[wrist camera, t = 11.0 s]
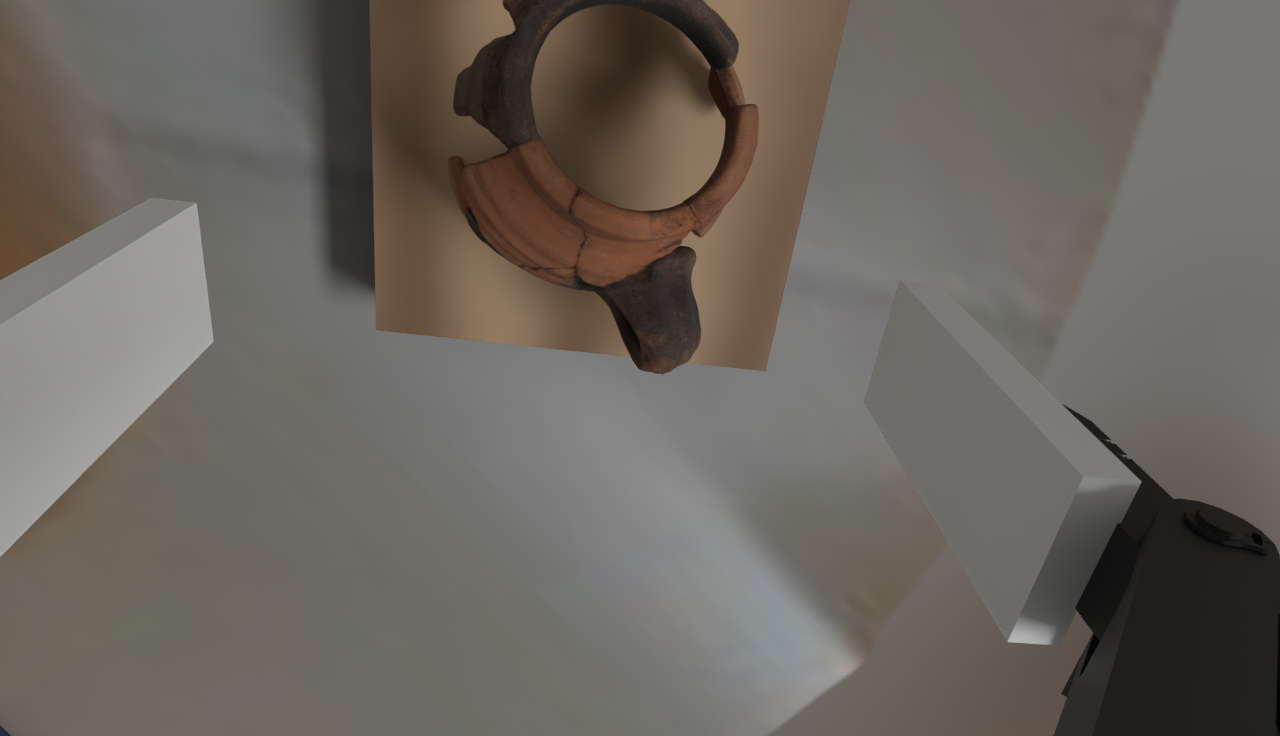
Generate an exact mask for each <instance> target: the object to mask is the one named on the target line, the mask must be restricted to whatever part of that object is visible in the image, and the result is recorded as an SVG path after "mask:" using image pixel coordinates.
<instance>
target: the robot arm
mask: <svg viewBox="0 0 1280 736" xmlns="http://www.w3.org/2000/svg"><path fill="white" fill-rule="evenodd" d="M212 342H213V333H212V325H211V317H210V309H209V300H208V292H207V284H206V276H205V268H204V260H203V251H202V243H201V235H200V227H199V219H198V211H197V203H195V202H186V201H177V200H167V199H158V198H150V199H148V200H146V201H145V202H143V203H141V204H139V205H137V206H135V207H134V208H132V209H130V210H128V211H126V212H124V213H123V214H121V215H119V216H117V217H115V218H113V219H112V220H110V221H108V222H106V223H104V224H102V225H101V226H99V227H97V228H95V229H93V230H91V231H90V232H88V233H86V234H84V235H82V236H81V237H79V238H77V239H75V240H73V241H71V242H70V243H68V244H66V245H64V246H62V247H60V248H59V249H57V250H55V251H53V252H51V253H49V254H48V255H46V256H44V257H42V258H40V259H38V260H37V261H35V262H33V263H31V264H29V265H27V266H26V267H24V268H22V269H20V270H18V271H17V272H15V273H13V274H11V275H9V276H7V277H6V278H4V279H2V280H0V557H1V556H2V555H3V554H4V553H5V552H6V551H7V550H8V549H9V547H10V546H11V545H12V544H13V543H14V542H15V541H16V540H17V539H18V538H19V537H20V536H21V535H22V534H23V533H24V532H25V531H26V530H27V529H28V528H29V527H30V526H31V525H32V524H33V523H34V522H35V521H36V520H37V519H38V518H39V517H40V516H41V515H42V514H43V513H44V512H45V511H46V510H47V509H48V508H49V507H50V506H51V505H52V504H53V503H54V502H55V501H56V500H57V499H58V498H59V497H60V496H61V495H62V494H63V493H64V492H65V491H66V490H67V489H68V488H69V487H70V486H71V485H72V484H73V483H74V482H75V481H76V480H77V479H78V478H79V477H80V476H81V475H82V474H83V473H84V472H85V471H86V470H87V469H88V468H89V467H90V466H91V465H92V464H93V463H94V462H95V461H96V460H97V459H98V458H99V457H100V456H101V455H102V454H103V453H104V452H105V451H106V450H107V448H108V447H109V446H110V445H111V444H112V443H113V442H114V441H115V440H116V439H117V438H118V437H119V436H120V435H121V434H122V433H123V432H124V431H125V430H126V429H127V428H128V427H129V426H130V425H131V424H132V423H133V422H134V421H135V420H136V419H137V418H138V417H139V416H140V415H141V414H142V413H143V412H144V411H145V410H146V409H147V408H148V407H149V406H150V405H151V404H152V403H153V402H154V401H155V400H156V399H157V398H158V397H159V396H160V395H161V394H162V393H163V392H164V391H165V390H166V389H167V388H168V387H169V386H170V385H171V384H172V383H173V382H174V381H175V380H176V379H177V378H178V377H179V376H180V375H181V374H182V373H183V372H184V371H185V370H186V369H187V368H188V367H189V366H190V365H191V364H192V363H193V362H194V361H195V360H196V359H197V358H198V357H199V356H200V355H201V354H202V353H203V352H204V351H205V349H206V348H207V347H208V346H209V345H210V344H211V343H212ZM864 403H865V404H866V406H867V408H868V409H869V411H870V413H871V414H872V416H873V418H874V419H875V421H876V423H877V424H878V426H879V428H880V429H881V431H882V433H883V434H884V436H885V438H886V440H887V441H888V443H889V445H890V446H891V448H892V450H893V451H894V453H895V455H896V456H897V458H898V460H899V461H900V463H901V465H902V466H903V468H904V470H905V471H906V473H907V475H908V476H909V478H910V480H911V481H912V483H913V485H914V486H915V488H916V490H917V491H918V493H919V495H920V497H921V498H922V500H923V502H924V503H925V505H926V507H927V508H928V510H929V512H930V513H931V515H932V517H933V518H934V520H935V522H936V523H937V525H938V527H939V528H940V530H941V532H942V533H943V535H944V537H945V538H946V540H947V542H948V543H949V545H950V547H951V548H952V550H953V552H954V553H955V555H956V557H957V558H958V560H959V562H960V564H961V565H962V567H963V568H964V570H965V572H966V573H967V575H968V577H969V579H970V580H971V582H972V584H973V585H974V587H975V589H976V590H977V592H978V594H979V595H980V597H981V599H982V600H983V602H984V604H985V605H986V607H987V609H988V610H989V612H990V614H991V616H992V617H993V619H994V620H995V622H996V624H997V626H998V627H999V629H1000V631H1001V632H1002V634H1003V635H1004V637H1005V639H1006V640H1007V642H1016V643H1032V644H1048V645H1060V644H1061V642H1062V639H1063V638H1064V635H1065V634H1066V632H1067V630H1068V628H1069V626H1070V624H1071V622H1072V620H1073V618H1074V616H1075V614H1076V612H1077V611H1078V612H1079V614H1080V615H1081V616H1082V618H1083V619H1084V621H1085V622H1086V623H1087V625H1088V626H1089V627H1090V629H1091V630H1092V632H1093V634H1092V636H1091V638H1090V640H1089V642H1088V644H1087V646H1086V648H1085V650H1084V651H1083V653H1082V655H1081V657H1080V659H1079V661H1078V663H1077V665H1076V667H1075V669H1074V670H1073V673H1072V674H1071V676H1070V678H1069V680H1068V682H1067V684H1066V686H1065V688H1064V690H1063V691H1062V693H1061V694H1063V695H1064V696H1066V697H1067V699H1066V702H1065V705H1064V708H1063V710H1062V713H1061V716H1060V719H1059V722H1058V725H1057V728H1056V731H1055V733H1054V736H1280V556H1279V553H1278V551H1277V548H1276V546H1275V544H1274V543H1273V542H1272V541H1271V540H1270V539H1269V538H1268V537H1267V536H1266V535H1265V534H1264V533H1263V532H1262V531H1260V530H1259V529H1257V528H1256V527H1254V526H1253V525H1251V524H1250V523H1248V522H1247V521H1245V520H1244V519H1242V518H1240V517H1238V516H1236V515H1234V514H1231V513H1229V512H1227V511H1225V510H1223V509H1221V508H1218V507H1214V506H1212V505H1209V504H1205V503H1202V502H1199V501H1193V500H1186V499H1173V498H1172V497H1171V496H1170V495H1169V494H1168V493H1167V492H1166V491H1165V490H1164V489H1162V488H1161V487H1160V486H1159V485H1158V484H1157V483H1156V482H1155V481H1154V480H1153V479H1152V478H1151V477H1150V476H1149V475H1148V474H1146V473H1145V472H1144V471H1143V470H1142V469H1141V468H1140V467H1139V466H1138V465H1137V464H1136V463H1135V462H1134V461H1133V460H1132V459H1127V454H1125V453H1124V452H1123V451H1122V450H1121V449H1120V448H1119V447H1118V446H1117V445H1116V444H1112V443H1111V439H1110V438H1109V437H1107V436H1106V435H1105V434H1104V433H1103V432H1102V431H1101V430H1100V429H1099V428H1098V427H1097V426H1096V425H1095V424H1094V423H1093V422H1092V421H1090V420H1088V419H1086V418H1085V417H1083V416H1082V415H1080V414H1078V413H1076V412H1075V411H1073V410H1071V409H1070V408H1068V407H1067V406H1065V405H1063V404H1061V403H1060V402H1059V401H1058V400H1057V399H1056V398H1055V397H1054V396H1053V395H1052V394H1051V393H1050V392H1049V391H1048V390H1047V389H1045V387H1043V386H1042V385H1041V384H1040V383H1039V382H1038V381H1037V380H1036V379H1035V378H1034V377H1033V376H1032V375H1031V374H1030V373H1029V372H1028V371H1027V370H1026V369H1025V368H1024V367H1023V366H1022V365H1021V364H1020V363H1019V362H1018V361H1017V360H1016V359H1015V358H1014V357H1012V356H1011V355H1010V354H1009V353H1008V352H1007V351H1006V350H1005V349H1004V348H1003V347H1002V346H1001V345H1000V344H999V343H998V342H997V341H996V340H995V339H994V338H993V337H992V336H991V335H990V334H989V333H988V332H987V331H986V330H985V329H984V328H983V327H982V326H980V325H979V324H978V323H977V322H976V321H975V320H974V319H973V318H972V317H971V316H970V315H969V314H968V313H967V312H966V311H965V310H964V309H963V308H962V307H961V306H960V305H959V304H958V303H957V302H956V301H955V300H954V299H953V298H952V297H951V296H949V295H948V294H947V293H946V292H945V291H944V290H943V289H942V288H941V287H940V286H939V285H938V284H934V283H925V282H916V281H906V280H900V282H899V285H898V289H897V292H896V296H895V299H894V302H893V306H892V309H891V312H890V316H889V319H888V323H887V326H886V329H885V333H884V336H883V339H882V343H881V346H880V350H879V353H878V356H877V360H876V363H875V367H874V370H873V373H872V377H871V380H870V383H869V387H868V390H867V394H866V397H865V400H864Z"/></svg>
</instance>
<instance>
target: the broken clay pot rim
mask: <svg viewBox="0 0 1280 736" xmlns="http://www.w3.org/2000/svg"><path fill="white" fill-rule="evenodd" d="M502 3H503V6H504V8H505V9H506V10H507V11H509V14H510V16H511V18H512V20H513V23H514V26H515V31H514V32H513V33H512V34H509V35H506V36H502V37H498V38H495V39H493V40H492V42H491V43H489V44H487V45H485V46H484V47H483V48H481V50H480V51H479V52H478V53H477V55H476V57H475V59H474V61H473V63H472V64H471V65H470V66H469V67H467V68H465V69H464V70H462V71H461V72H460V73H459V74H458V76H457V79H456V85H455V90H454V98H453V109H454V112H455V113H456V114H457V115H458V116H471V117H472V118H473V119H474V120H475V121H476V122H477V123H478V124H479V125H481V126H483V127H484V128H486V129H488V130H489V131H490V132H491V133H492V134H493V135H494V136H495V137H496V138H497V139H499V140H500V141H501V142H502V143H503V144H504V145H505V146H506V147H507V148H508V150H507V152H505V153H502V154H499V155H496V156H493V157H491V158H489V159H487V160H484V161H481V162H477V163H472V164H467V165H465V163H464V161H463V159H462V158H461V157H460V156H452V157H450V158H449V159H448V172H449V179H450V184H451V187H452V190H453V192H454V194H455V196H456V199H457V202H458V205H459V208H460V210H461V212H462V214H463V215H464V217H465V218H466V219H467V222H468V224H469V226H470V227H471V229H472V230H473V232H474V233H475V234H476V235H477V237H478V238H479V239H480V240H481V241H482V242H484V243H486V244H487V245H488V246H489V247H490V248H492V249H493V250H494V251H495V252H496V253H498V254H499V255H501V256H502V257H504V258H505V259H507V260H508V261H509V262H511V263H513V264H515V265H516V266H518V267H519V268H521V269H523V270H525V271H527V272H529V273H531V274H532V275H534V276H536V277H539V278H541V279H543V280H545V281H548V282H550V283H553V284H556V285H559V286H562V287H566V288H571V289H576V290H585V291H594V292H595V293H596V294H598V295H599V296H600V297H601V298H602V299H603V301H604V302H605V303H606V304H607V305H608V307H609V308H610V310H611V312H612V315H613V317H614V319H615V322H616V324H617V327H618V329H619V332H620V335H621V338H622V340H623V342H624V344H625V346H626V348H627V350H628V352H629V354H630V356H631V358H632V360H633V362H634V363H635V364H636V366H637V367H638V368H639V369H640V370H643V371H648V372H653V373H656V374H659V373H660V374H664V373H666V372H670V371H672V370H673V369H674V368H676V367H677V366H679V365H681V364H684V363H686V362H688V361H689V360H690V358H691V357H692V355H693V354H694V352H695V351H696V350H697V348H698V346H699V344H700V340H701V326H700V319H699V311H698V306H697V303H696V300H695V297H694V294H693V291H692V285H691V276H692V270H693V267H694V265H695V262H696V253H695V251H694V250H693V249H692V248H690V247H687V246H680V245H681V243H682V240H683V239H684V238H685V237H686V236H687V235H688V234H689V233H690V232H693V233H694V234H695V235H697V236H698V237H700V238H701V237H703V236H704V235H705V234H706V233H707V232H708V231H709V230H710V229H711V227H712V225H713V224H714V223H715V221H716V220H717V219H718V217H719V215H720V214H721V212H722V210H723V208H724V206H725V205H726V204H727V203H728V202H729V201H730V200H731V198H732V197H733V196H734V195H735V194H736V192H737V191H738V189H739V188H740V186H741V185H742V184H743V182H744V180H745V179H746V176H747V174H748V171H749V168H750V166H751V164H752V161H753V157H754V153H755V151H756V148H757V144H758V127H759V112H758V107H757V105H756V104H746V103H745V99H744V95H743V92H742V86H741V84H740V81H739V79H738V76H737V74H736V72H735V70H734V68H733V66H732V65H733V64H734V62H735V61H736V58H737V54H738V51H739V42H738V40H737V38H736V36H735V34H734V33H733V31H732V30H731V29H730V28H729V27H728V25H727V24H726V22H725V21H724V20H723V19H722V18H721V17H720V16H719V14H718V13H717V12H715V11H714V10H713V9H711V8H710V7H709V6H708V5H707V4H706V3H705V2H704V1H703V0H503V2H502ZM614 4H615V5H623V6H630V7H634V8H638V9H640V10H643V11H645V12H648V13H651V14H654V15H656V16H658V17H660V18H662V19H664V20H665V21H667V22H669V23H670V24H672V25H673V26H674V27H676V28H677V29H679V30H680V31H681V32H682V33H683V34H685V35H686V36H687V37H688V38H689V39H690V40H691V41H692V42H693V44H694V45H695V46H696V47H697V48H698V49H699V50H700V52H701V53H702V55H703V56H704V57H705V59H706V60H707V62H708V64H709V65H710V67H711V68H710V74H709V78H708V88H709V91H710V94H711V96H712V98H713V99H714V101H715V104H716V106H717V107H718V109H719V111H720V113H721V115H722V116H723V118H724V119H725V138H724V144H723V149H722V152H721V156H720V159H719V161H718V164H717V166H716V168H715V170H714V172H713V173H712V175H711V176H710V178H709V179H708V181H707V182H706V183H705V184H704V185H703V187H702V188H701V189H700V190H698V191H697V192H696V193H695V194H693V195H692V196H690V197H689V198H687V199H686V200H685V201H683V202H682V203H681V204H678V205H675V206H673V207H670V208H665V209H661V210H649V211H638V210H631V209H625V208H620V207H617V206H614V205H612V204H609V203H605V202H603V201H601V200H599V199H597V198H596V197H594V196H592V195H591V194H589V193H588V192H587V191H585V190H583V189H581V188H580V187H579V186H578V185H577V184H576V183H575V182H574V181H573V180H572V179H571V178H570V177H569V176H567V175H566V174H565V172H564V171H563V170H562V169H561V168H560V167H559V165H558V164H557V163H556V161H555V160H554V158H553V157H552V155H551V154H550V152H549V150H548V148H547V147H546V145H545V143H544V141H543V139H542V138H541V136H540V135H539V134H538V131H537V127H536V123H535V118H534V113H533V108H532V99H531V82H532V75H533V70H534V66H535V62H536V58H537V56H538V54H539V51H540V49H541V47H542V45H543V43H544V41H545V39H546V38H547V36H548V35H549V33H550V31H551V30H552V29H553V28H554V27H556V26H557V25H558V24H559V23H560V22H562V21H563V20H564V19H566V18H567V17H569V16H570V15H572V14H574V13H576V12H578V11H581V10H583V9H586V8H590V7H594V6H600V5H614Z"/></svg>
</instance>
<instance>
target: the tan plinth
mask: <svg viewBox="0 0 1280 736" xmlns="http://www.w3.org/2000/svg"><path fill="white" fill-rule="evenodd" d="M703 1H704V2H705V3H706V4H707V5H708V6H709V7H710V8H711V9H713V10H714V11H715V12H717V13H718V14H719V16H720V17H721V18H722V19H723V20H724V21H725V22H726V24H727V25H728V27H729V28H730V29H731V30H732V31H733V33H734V34H735V36H736V38H737V40H738V42H739V51H738V54H737V58H736V61H735V62H734V64H733V65H732V66H733V68H734V70H735V72H736V74H737V76H738V79H739V81H740V84H741V86H742V92H743V95H744V99H745V103H746V104H756V105H757V107H758V112H759V127H758V144H757V148H756V151H755V153H754V157H753V161H752V164H751V166H750V168H749V171H748V174H747V176H746V179H745V180H744V182H743V184H742V185H741V186H740V188H739V189H738V191H737V192H736V194H735V195H734V196H733V197H732V198H731V200H730V201H729V202H728V203H727V204H726V205H725V206H724V208H723V210H722V212H721V214H720V215H719V217H718V219H717V220H716V221H715V223H714V224H713V225H712V227H711V229H710V230H709V231H708V232H707V233H706V234H705V235H704V236H703V237H701V238H700V237H698V236H697V235H695V234H694V233H693V232H690V233H689V234H688V235H687V236H686V237H685V238H684V239H683V240H682V243H681V245H680V246H687V247H690V248H692V249H693V250H694V251H695V253H696V262H695V265H694V267H693V270H692V276H691V285H692V291H693V294H694V297H695V300H696V303H697V306H698V311H699V319H700V326H701V340H700V344H699V346H698V348H697V350H696V351H695V352H694V354H693V355H692V357H691V358H690V360H689V361H688V362H686V363H694V364H703V365H713V366H722V367H732V368H741V369H751V370H760V371H766V367H767V363H768V358H769V354H770V349H771V345H772V341H773V336H774V332H775V327H776V323H777V319H778V314H779V310H780V305H781V301H782V297H783V292H784V288H785V283H786V279H787V275H788V270H789V266H790V261H791V257H792V253H793V248H794V244H795V239H796V235H797V231H798V226H799V222H800V217H801V213H802V209H803V204H804V200H805V196H806V191H807V187H808V182H809V178H810V174H811V169H812V165H813V160H814V156H815V152H816V147H817V143H818V138H819V134H820V130H821V125H822V121H823V116H824V112H825V108H826V103H827V99H828V94H829V90H830V86H831V81H832V77H833V72H834V68H835V64H836V59H837V55H838V50H839V46H840V42H841V37H842V33H843V28H844V24H845V20H846V15H847V11H848V6H849V2H850V0H703ZM502 2H503V0H369V12H370V61H371V109H372V158H373V207H374V256H375V304H376V330H380V331H390V332H399V333H409V334H418V335H428V336H437V337H447V338H456V339H466V340H475V341H485V342H494V343H504V344H513V345H523V346H532V347H542V348H551V349H561V350H570V351H580V352H589V353H599V354H608V355H618V356H627V357H631V356H630V354H629V352H628V350H627V348H626V346H625V344H624V342H623V340H622V338H621V335H620V332H619V329H618V327H617V324H616V322H615V319H614V317H613V315H612V312H611V310H610V308H609V307H608V305H607V304H606V303H605V302H604V301H603V299H602V298H601V297H600V296H599V295H598V294H596V293H595V292H594V291H585V290H576V289H571V288H566V287H562V286H559V285H556V284H553V283H550V282H548V281H545V280H543V279H541V278H539V277H536V276H534V275H532V274H531V273H529V272H527V271H525V270H523V269H521V268H519V267H518V266H516V265H515V264H513V263H511V262H509V261H508V260H507V259H505V258H504V257H502V256H501V255H499V254H498V253H496V252H495V251H494V250H493V249H492V248H490V247H489V246H488V245H487V244H486V243H484V242H482V241H481V240H480V239H479V238H478V237H477V235H476V234H475V233H474V232H473V230H472V229H471V227H470V226H469V224H468V222H467V219H466V218H465V217H464V215H463V214H462V212H461V210H460V208H459V205H458V202H457V199H456V196H455V194H454V192H453V190H452V187H451V184H450V179H449V172H448V159H449V158H450V157H452V156H460V157H461V158H462V159H463V161H464V163H465V165H467V164H472V163H477V162H481V161H484V160H487V159H489V158H491V157H493V156H496V155H499V154H502V153H505V152H507V150H508V148H507V147H506V146H505V145H504V144H503V143H502V142H501V141H500V140H499V139H497V138H496V137H495V136H494V135H493V134H492V133H491V132H490V131H489V130H488V129H486V128H484V127H483V126H481V125H479V124H478V123H477V122H476V121H475V120H474V119H473V118H472V117H471V116H458V115H457V114H456V113H455V112H454V109H453V98H454V90H455V85H456V79H457V76H458V74H459V73H460V72H461V71H462V70H464V69H465V68H467V67H469V66H470V65H471V64H472V63H473V61H474V59H475V57H476V55H477V53H478V52H479V51H480V50H481V48H483V47H484V46H485V45H487V44H489V43H491V42H492V40H493V39H495V38H498V37H502V36H506V35H509V34H512V33H513V32H514V31H515V26H514V23H513V20H512V18H511V16H510V14H509V11H507V10H506V9H505V8H504V6H503V3H502ZM710 68H711V67H710V65H709V64H708V62H707V60H706V59H705V57H704V56H703V55H702V53H701V52H700V50H699V49H698V48H697V47H696V46H695V45H694V44H693V42H692V41H691V40H690V39H689V38H688V37H687V36H686V35H685V34H683V33H682V32H681V31H680V30H679V29H677V28H676V27H674V26H673V25H672V24H670V23H669V22H667V21H665V20H664V19H662V18H660V17H658V16H656V15H654V14H651V13H648V12H645V11H643V10H640V9H638V8H634V7H630V6H623V5H615V4H614V5H600V6H594V7H590V8H586V9H583V10H581V11H578V12H576V13H574V14H572V15H570V16H569V17H567V18H566V19H564V20H563V21H562V22H560V23H559V24H558V25H557V26H556V27H554V28H553V29H552V30H551V31H550V33H549V35H548V36H547V38H546V39H545V41H544V43H543V45H542V47H541V49H540V51H539V54H538V56H537V58H536V62H535V66H534V70H533V75H532V82H531V99H532V108H533V113H534V118H535V123H536V127H537V131H538V134H539V135H540V136H541V138H542V139H543V141H544V143H545V145H546V147H547V148H548V150H549V152H550V154H551V155H552V157H553V158H554V160H555V161H556V163H557V164H558V165H559V167H560V168H561V169H562V170H563V171H564V172H565V174H566V175H567V176H569V177H570V178H571V179H572V180H573V181H574V182H575V183H576V184H577V185H578V186H579V187H580V188H581V189H583V190H585V191H587V192H588V193H589V194H591V195H592V196H594V197H596V198H597V199H599V200H601V201H603V202H605V203H609V204H612V205H614V206H617V207H620V208H625V209H631V210H638V211H649V210H661V209H665V208H670V207H673V206H675V205H678V204H681V203H682V202H683V201H685V200H686V199H687V198H689V197H690V196H692V195H693V194H695V193H696V192H697V191H698V190H700V189H701V188H702V187H703V185H704V184H705V183H706V182H707V181H708V179H709V178H710V176H711V175H712V173H713V172H714V170H715V168H716V166H717V164H718V161H719V159H720V156H721V152H722V149H723V144H724V138H725V119H724V118H723V116H722V115H721V113H720V111H719V109H718V107H717V106H716V104H715V101H714V99H713V98H712V96H711V94H710V91H709V88H708V78H709V74H710Z"/></svg>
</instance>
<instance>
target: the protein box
mask: <svg viewBox="0 0 1280 736" xmlns="http://www.w3.org/2000/svg"><path fill="white" fill-rule="evenodd" d="M0 736H10V735H9V734H8V733H7V732H5V731H4V730H3V729H2V728H1V727H0Z"/></svg>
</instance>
